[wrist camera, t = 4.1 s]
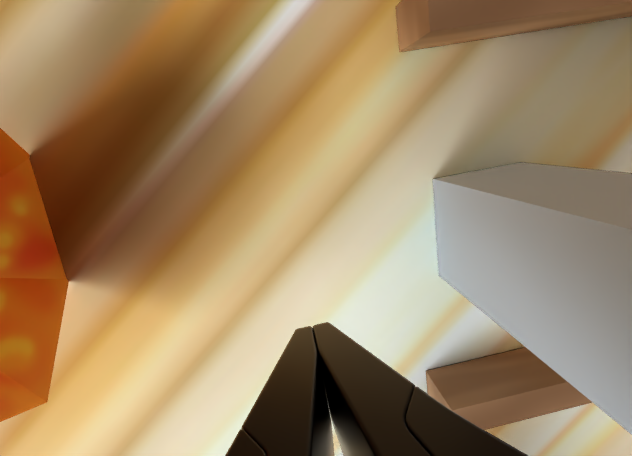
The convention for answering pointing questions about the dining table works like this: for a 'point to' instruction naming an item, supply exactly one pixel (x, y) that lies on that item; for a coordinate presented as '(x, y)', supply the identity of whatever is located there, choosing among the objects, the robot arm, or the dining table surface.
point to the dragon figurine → (26, 286)
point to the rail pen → (522, 365)
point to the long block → (548, 267)
